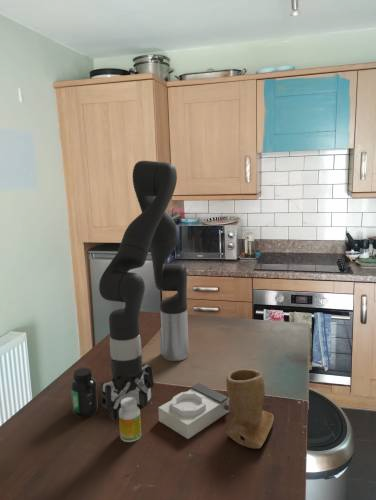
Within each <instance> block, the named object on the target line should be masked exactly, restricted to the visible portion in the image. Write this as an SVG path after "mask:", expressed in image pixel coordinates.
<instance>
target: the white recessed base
mask: <svg viewBox="0 0 376 500" xmlns="http://www.w3.org/2000/svg"><path fill="white" fill-rule="evenodd" d="M157 409H158V421H159V422H160V423H162V424H163V425H164V426H166V427H168V428H170V429H171V430H173V431H174V432H176V433H177V434H178V435H181V436H182V437H184V438H186V439H187V440H189V439H190V438H193V436H195V435H197V434H199V432H201V431H203V430H204V429H205V428H207V427H208V426H210V425H211V424H213V423H214V422H216V421H218V420H219V419H221V418H222V417H223V416H225V415H226V414H228V413H229V412H230V409H231V405H230V399H229V396H228V395H227V396H226V395H225V394H223V393H220V392H219V391H216V390H214V389H212V388H210V387H208V386H206V385H204V384H202V383H200V382H197V383H196V384H194V385H192V386H191V389H188V390H187V391H182V392H180V393H178V394H175V395H174V396H173V397H172V399H171V400H170V401H167V402H166V403H164V404H161V405H160V406H158V408H157Z"/></svg>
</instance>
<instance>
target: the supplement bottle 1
mask: <svg viewBox="0 0 376 500" xmlns="http://www.w3.org/2000/svg"><path fill="white" fill-rule="evenodd" d="M72 376H73V380H72V381H71V384H70V393H71V395H70V396H71V402H72V403H71V404H72V413H73V415H74V416H75V417H78V418H89V417H92V416H94V415H95V414H96V413H97V412H98V409H99V400H98V387H97V381H96V379H95V378H94V377H93V374H92V369H91V368H89V367H80V368H78V369H75V370H74V371H73V375H72Z"/></svg>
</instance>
